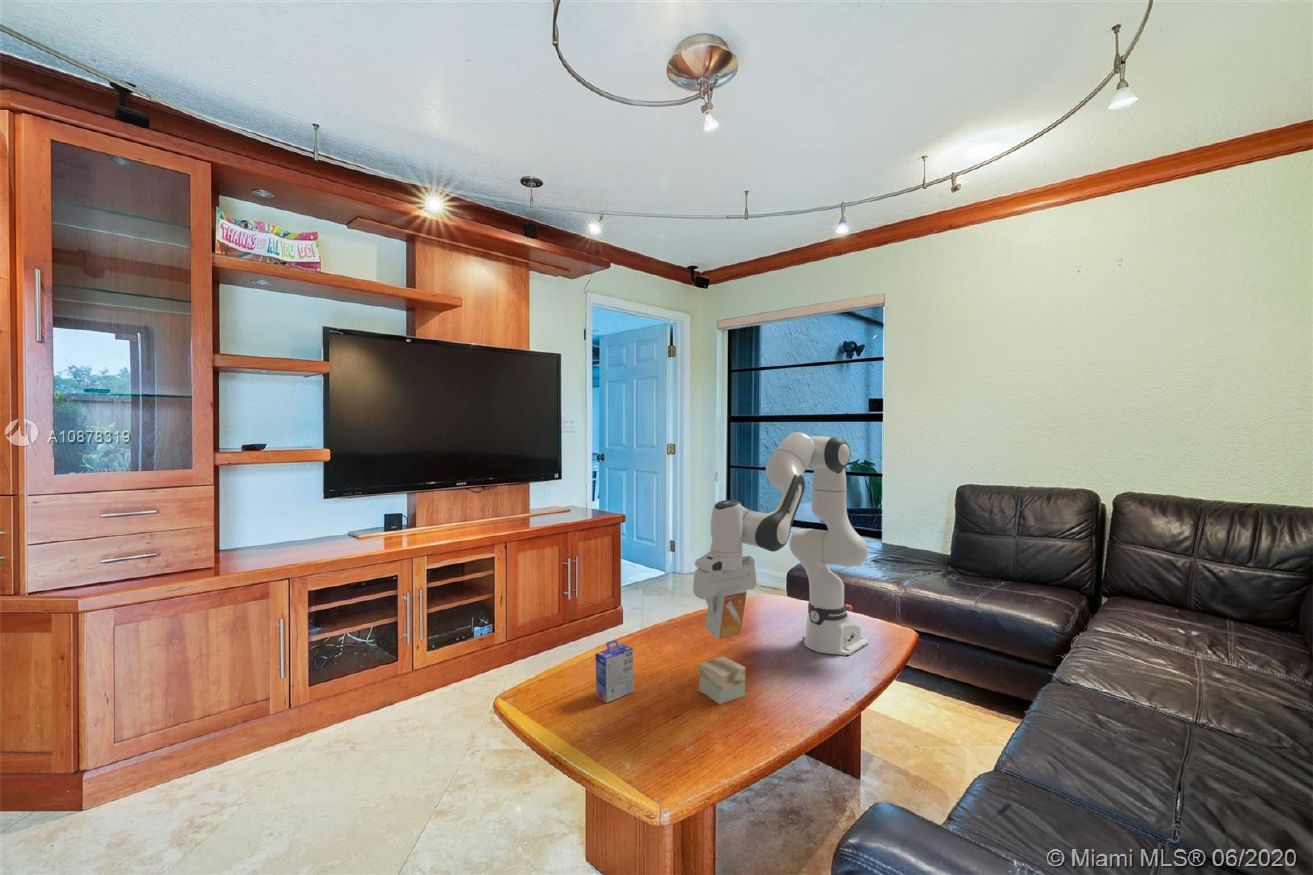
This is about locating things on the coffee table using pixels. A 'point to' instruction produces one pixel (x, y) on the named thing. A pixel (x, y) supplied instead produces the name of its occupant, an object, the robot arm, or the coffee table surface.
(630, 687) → the ink cartridge box
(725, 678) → the tower top block
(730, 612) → the small box
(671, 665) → the coffee table surface
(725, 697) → the tower base block
